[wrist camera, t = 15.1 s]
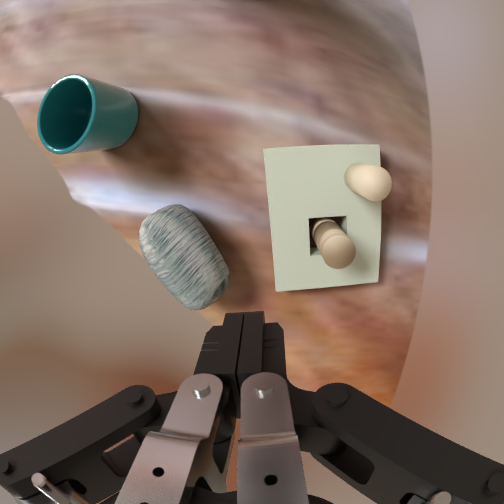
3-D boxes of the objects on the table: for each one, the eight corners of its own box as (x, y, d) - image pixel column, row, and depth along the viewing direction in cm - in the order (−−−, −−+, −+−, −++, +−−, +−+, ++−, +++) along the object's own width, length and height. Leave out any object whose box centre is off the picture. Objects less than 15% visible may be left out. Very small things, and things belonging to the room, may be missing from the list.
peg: (309, 217, 37) (322, 237, 29) (336, 215, 37) (356, 235, 28) (311, 243, 38) (322, 270, 30) (337, 241, 38) (355, 267, 30)
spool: (256, 285, 37) (203, 320, 29) (208, 297, 43) (158, 326, 35) (215, 186, 36) (153, 198, 28) (173, 213, 42) (117, 228, 34)
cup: (103, 66, 31) (57, 49, 20) (152, 113, 33) (111, 103, 23) (67, 113, 33) (17, 111, 22) (111, 162, 36) (63, 171, 25)
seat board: (263, 149, 34) (262, 148, 26) (370, 144, 33) (400, 144, 25) (275, 281, 40) (277, 316, 32) (371, 272, 39) (393, 303, 31)
